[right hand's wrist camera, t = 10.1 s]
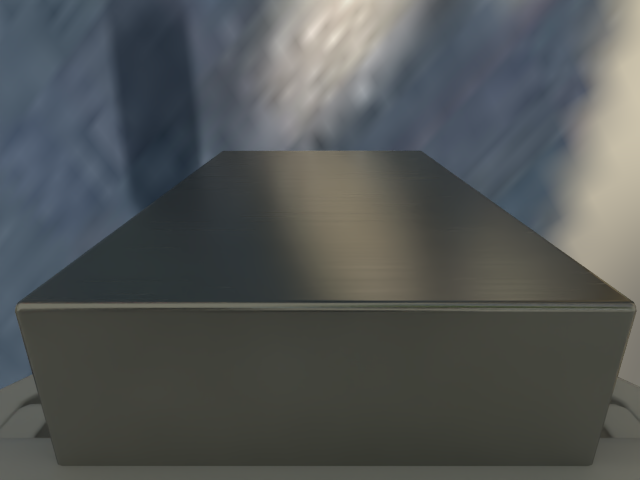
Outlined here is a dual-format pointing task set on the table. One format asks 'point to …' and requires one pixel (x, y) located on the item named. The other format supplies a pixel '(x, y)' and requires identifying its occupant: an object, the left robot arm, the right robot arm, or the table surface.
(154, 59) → the table surface
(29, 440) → the right robot arm
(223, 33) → the table surface
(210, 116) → the table surface
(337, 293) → the box
